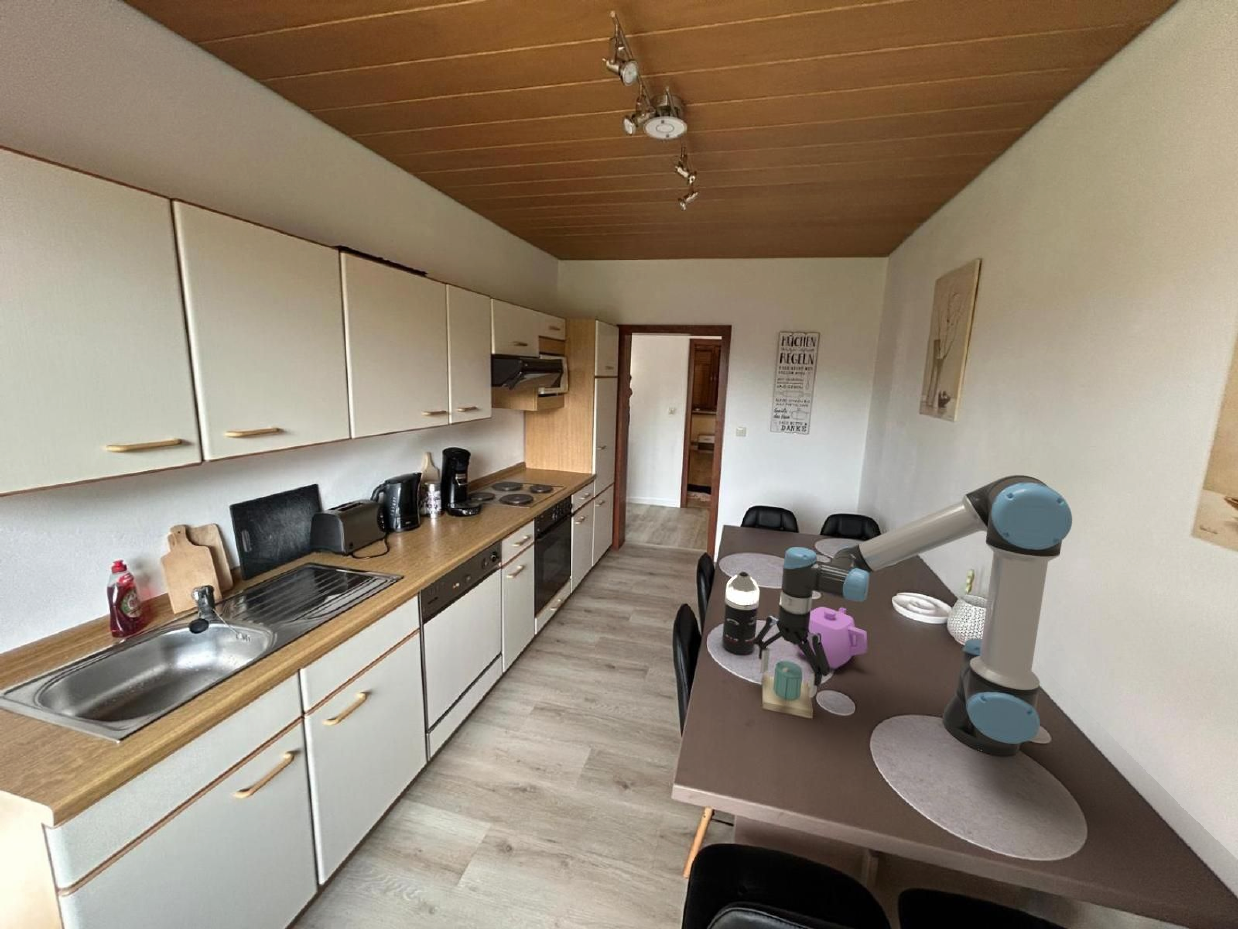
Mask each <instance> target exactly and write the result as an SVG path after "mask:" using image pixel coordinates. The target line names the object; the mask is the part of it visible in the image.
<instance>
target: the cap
mask: <svg viewBox="0 0 1238 929" xmlns="http://www.w3.org/2000/svg"><path fill="white" fill-rule="evenodd" d="M773 677H774V685H773V690H774V692H775V694H777V696H779V697H781V698H783V699H786V700H796V699H797V698H799V697H800V693H801V683H802V682H803V669H802V667H801V666H800V665H798V664H797V663H796V662H792V661H788V660H780V661H778V662H776V665H775V668H774V675H773Z"/></svg>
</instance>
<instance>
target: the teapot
mask: <svg viewBox="0 0 1238 929" xmlns="http://www.w3.org/2000/svg"><path fill="white" fill-rule="evenodd" d="M846 613H847V608H844V607H840V608H838V611H837V610H835V609H832V608H829V607H826V606H819V607H817V608H814V609H813V610H810V622H809V632H810V633H814V634H817V633H820V634H821V643H822V646H823V649H824V652H825V655H826V658H827V660H828V663H829V666H830V669H831V670H837V669H838V668H839V667H841V666H843V665H844V664H846V663H848V661H849V660H850V659H851V658H852V656H856V655H858V656H859V655H865V654H866V653H867V651H868V638H867V634H868V633H867V631H866V630H863V629H861V628H858V627H856V626H855V621H854V617H852V616H851V615H848V614H846ZM807 639H808V641H809V643H810V647H811V648H812V650H813V652H814V654H815V651H814V649H813V645H812V643H811V640H810V638H809V637H808V638H807ZM802 643H804V642H802ZM796 648H797V650H798V652H799V654H801V655H804V653H803V651H802V650H801V649H800V648H799V647H798V645H797V644H796ZM815 655H816V654H815ZM804 656H805V655H804ZM804 656H803V657H804Z"/></svg>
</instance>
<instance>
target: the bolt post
mask: <svg viewBox="0 0 1238 929" xmlns="http://www.w3.org/2000/svg"><path fill="white" fill-rule="evenodd" d="M761 676H762V677H761V695H762V696H761V697H762V698H761V699H762V700H761V701H762V702H761V703H762V704H761V705H762V710H767V711H772V712H776V713H783V714H787V715H793V716H797V717H798V716H799V717H803V718H808V719H813V716H814V709H813V703H812V698H810V697H809V689H810V684H809V682H806V681H802V683H801V693H800V697H799V698H797V699H796V700H786V699H783V698H781V697H779V696H777V694H775V692H774V690H773V685H774V675H773V676H771V675H766V674H762V675H761Z"/></svg>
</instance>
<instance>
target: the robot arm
mask: <svg viewBox="0 0 1238 929" xmlns="http://www.w3.org/2000/svg"><path fill="white" fill-rule="evenodd" d="M1072 524H1073V515H1072V511H1071V508H1070V506H1069V504H1068V503H1067V500H1066V499H1065V498H1064V497H1063V496H1062V495H1061V494H1060V493H1059V492H1058V491H1056V490H1054V489H1053V488H1051V487H1049V486H1048V485H1047V484H1046V483H1045V482H1043V481H1041V480H1040V479H1038V478H1035V477H1033V476H1029V475H1022V474H1020V475H1019V474H1016V475H1008V476H1004V477H1001V478H999V479H996V480H995V481H992V482H990V483H987V484H986V485H983V486H981V487H979V488H977V489H975V490H972V491H971V492H967V493H966V494H964V495H963V497H962V499H961V501H958V502H956V503H953V504H951V505H949V506H946V507H945V508H942V509H939V510H937V511H935V512H932V513H930V514H927V515H926V516H923V517H920V518H919V519H915V520H914V521H911V522H909V523H906V524H903V525H902V526H900V527H897V528H894V529H892V530H890V531H887V532H884V533H883V534H880V535H877V536H875V537H873V538H870V539H868V540H866V541H863V542H861V543H859V544H856V545H853V546H844V547H841V548H839V550H838V551H837V552H836V553H835V554H834V556H833V558H832V561H831V563H830V562H824V561H821V560H818V558H817V557H818V556H817V553H816V551H814V550H812V549H809V548H807V547H802V546H795V547H790V548H788V549H787V550H785V555H784V560H783V565H782V578H781V579H782V580H781V589H780V600H779V608H778V619H777V618H776V616H775V615H774V614H771V615H769V616H768V617H767V618H766V619H765V624H764V626H763V627H762V628H761V629H760V631H759V632H758V634H757V635H756V636H755V639H754V641H753V643H754V644H755V646H757V647H758V648H759V649H758V659H759V660H760V662H761V663H760V674H762V675H764V674H765V673H766V672H767V671H768V670H769V660H770V652H771V651H770V650H771V648H770V647H769V646H771V644H773V643H774V642H776V641H777V640H779V639H780V638H783V641H786V642H789V643H791V644H793V645H794V646H795V645H796V646H797V645H798V647H799V648H800V649H801V650H802V651H803V653H804V655H805V657H804V658H806V660H807V663H808V664H809V665H810V668H811V670H812V672H811V675H810V683H809V697H810V698H811V699H812V698H813V697H815V695H817V691H818V690H817V689H818V687H820V685H821V684H822V679H823V676H824V677H827V676H828V675H829V674H830V673H831V672H832V669H831V668H830V666H829V663H828V660H827V658H826V655H825V652H824V649H823V646H822V643H821V634H820V633H817V634H814V633H810V632H809V622H810V611H812V610H811V609H812V602H813V594H814V593H813V592H817V593H821V594H824V595H829V596H833V597H837V598H842V599H845V600H847V601H855V602H860V603H861V602H865V600H866V599H867V596H868V589H869V582H870V574H872V573H873V572H876V571H878V570H882V569H883V568H886V567H889V566H893V565H894V564H896V563H897V564H898V563H899V562H902V561H905V560H907V559H911V558H912V557H915V556H919V555H920V554H924V553H925V552H929V551H931V550H934V549H937V548H939V547H941V546H944V545H946V544H947V545H948V544H949V543H952V542H955V541H958V540H960V539H963V538H966V537H968V536H970V535H973V534H976V533H979V532H986V538H985V544H986V546H988V548H989V549H991V551H992V552H993V555H992V561H991V570H990V576H989V584H988V592H987V600H986V607H985V615H984V623H983V627H982V628H983V629H982V637H981V638H970V639H969V638H968V639H967V640H966V641H965V642H964V645H963V648H962V657H961V663H960V669H959V674H958V679H957V684H956V685H957V686H956V692H955V694H954V695H953V696H952V698H951V700H950V701H949V702H948V704H947V705H946V707H944V711H943V715H942V724H943V725H944V728H946V730H947V731H948V732H949V733H950V735H952V736H953V737H954V736H955V737H954V738H956V739H957V740H958V739H959V740H958V741H960V742H961V743H963V744H964V745H966V744H967V746H969V747H970V746H972V747H974V748H975V750H977V749H979V750H982V751H984V752H983V753H985V752H986V753H985V754H988V753H992V754H994V755H993V756H998V755H999V756H1000V757H1010V756H1013V755H1014V756H1015V755H1016V754H1017V753H1018V752H1019V751H1020V747H1021V743H1025V742H1029V741H1031V740H1033V739H1034V738H1035V737H1036V736H1037V735H1038V733H1039V731H1040V727H1041V726H1040V724H1041V720H1040V715H1039V713H1038V711H1037V705H1038V704H1037V703H1038V696H1039V691H1040V690H1039V689H1040V682H1041V681H1040V679H1039V677H1038V676H1037V675H1036V673H1035V672H1034V671H1032V670H1033V669H1032V668H1033V661H1034V656H1035V651H1036V650H1035V649H1036V643H1037V637H1038V630H1039V625H1040V624H1039V623H1040V618H1041V610H1042V606H1043V604H1042V603H1043V598H1044V591H1045V584H1046V578H1047V572H1048V571H1047V570H1048V566H1049V565H1048V564H1049V562H1051V561H1052V560H1054V559H1056V558H1058V557H1060V554H1061V549H1062V544H1063V540H1064V539H1065V538H1066V537H1067V536H1068V535H1069V533H1070V531H1071V529H1072ZM775 625H776V627H777V629H778V632H777V633H776V634H773V635H772V636H771V637H769V638H767V639H766V640H765V641H763V640H764V638H765V637H766V635H767V634H768V633H769V631H770V630H771V628H772V627H774V626H775ZM808 637H809V638H810V640H811V643H812V645H813V649H814V651H815V654H816V655H815V654H814V652H813V650H812V648H811V647H810V643H809V641H808V639H807V638H808ZM802 642H804V643H802ZM798 647H797V648H798ZM972 747H971V748H972ZM974 748H973V749H974ZM979 750H978V751H979ZM982 751H981V752H982ZM992 754H991V755H992Z"/></svg>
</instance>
